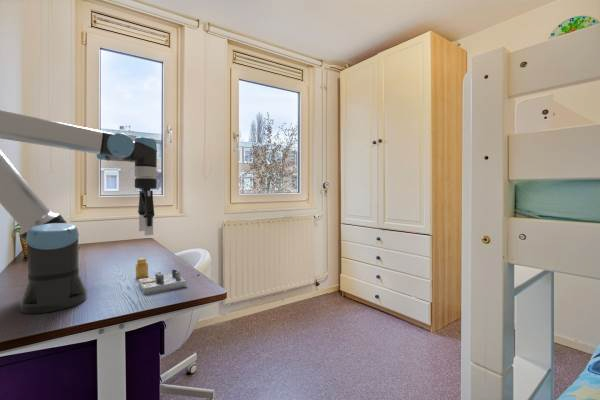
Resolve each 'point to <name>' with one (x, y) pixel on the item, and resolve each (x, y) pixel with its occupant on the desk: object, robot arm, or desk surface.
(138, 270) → the beige block
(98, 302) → the desk surface
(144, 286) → the junction plate
